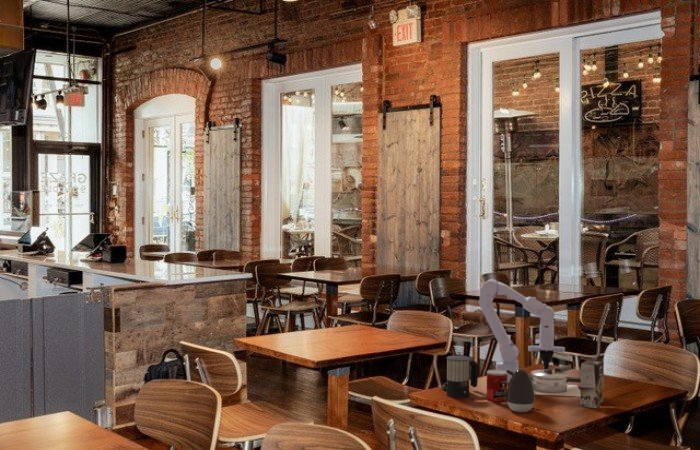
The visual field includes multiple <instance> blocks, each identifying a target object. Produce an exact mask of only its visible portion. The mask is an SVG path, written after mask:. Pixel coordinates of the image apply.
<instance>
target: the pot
mask: <svg viewBox="0 0 700 450" xmlns="http://www.w3.org/2000/svg"><path fill="white" fill-rule="evenodd" d="M529 376H530V378H531V381H532V384H533V388H534V391H538V392H543V393H563V392H566V391H567V385H568V383H580V384H581V377H578V376H577V377H574V376H568V377H567V378H564V379H543V378H538V377H534V376H532V375H531V374H529Z"/></svg>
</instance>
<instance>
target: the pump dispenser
mask: <svg viewBox="0 0 700 450" xmlns="http://www.w3.org/2000/svg"><path fill="white" fill-rule="evenodd" d="M506 372H507V373H508V374H510V375H512V377H511V379H510V382H509V383H508V384H507V395H506V400H505V402H506V403H507V406H508V408H509V409H510V410H511V411H513V412H515V413H528V412H529V411H531V410H532V408H533V407H534V404H535V402H536V398H535V397H536V396H535V395H536V394H534V388H533V384H532V381H531V378H530V376H529V375H530V374H529V372H528V371H527V370H525V369H524V368H519V369H518V370H516V371H515V372H512V371H509V370H507V371H506Z"/></svg>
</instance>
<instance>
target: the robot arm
mask: <svg viewBox="0 0 700 450" xmlns="http://www.w3.org/2000/svg"><path fill="white" fill-rule="evenodd" d="M479 291H480V292H479V301H478V305H479V307H480V310H481V312H482V313H483V315H484V318H485V319H486V321H487V323H488V325H489V327H490V329H491V331H492V333H493V335H494V337H495V339H496V341H497V343H498V347H499V350H500V353H501V355H500V356H501V361H495V362H496V365H495V370H503V371H507V370H509V371H512V372H515V371H516V370H518V369H520V368H519V365H520V364H519V363H520V362H519V360H518V358H517V357H518V356H519V353H520V352H519V351H520V350H519V348H518V347H517V346H516V345H515V344H514V343H513V341H512V339H511V338H510V337H509V335H508V333H507V332H506V329H505V328H504V325H503V324H502V323H503V322H501V320H500V317H499V315H498V314H497V311H496V309H495V308H494V305H493V301H494V298H495V296H496V294H497V296H502V295H504V296H506V297H509V298H510V299H512V300H514V301H516V302H517V303H519V304H521V305H522V308H523V309H524V310H526V311H527V312H529V313H531V314H532V315H534V316H536V317H539V319H540V322H539V323H540V324H539V340H538V341H539V345H528V346H527V350H528V352H539V355H540V356H541V360H542V364H543V370H546V369H549V368H550V367H549V366H550V362H551V360H552V358H553V356H554V353H566V347H564V346H556V345H554V344H555V343H554V341H555V339H554V338H555V325H554V323H555V320H554V318H555V310H554V308H552V307H551V306H550V305H547V303H542V301H539V300H537V297H535V296H533V297H532V296H527V297H526V296H524V295H523V294H522V293H520V292H518V291H517V290H515V289H513V288H512V287H510V286H509V285H507V284H506V283H503V282H501V281H499V280H497V279H494V278H490V279H487V280H486V281H485V282H483V283H482V285H481V287H480V289H479ZM511 377H512V375H510V374H508V373H507V384H509V382H510V379H511Z"/></svg>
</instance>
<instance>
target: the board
mask: <svg viewBox="0 0 700 450" xmlns="http://www.w3.org/2000/svg"><path fill="white" fill-rule="evenodd" d="M580 390H581V389H580V388H579V387H578V385H577V384H567V391H566V392H563V393H543V392H538V391H534V394H535V395H541V396H542V395H543V396H544V395H545V396H565V397H580Z"/></svg>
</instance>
